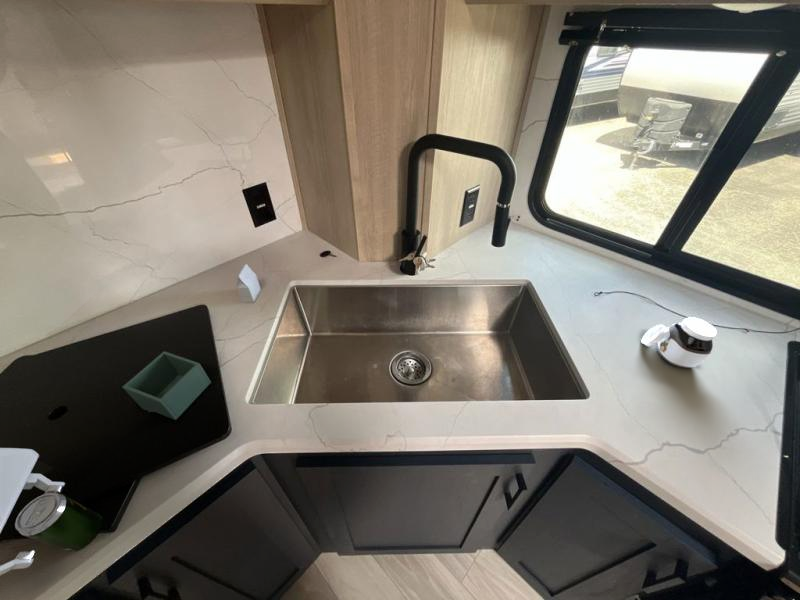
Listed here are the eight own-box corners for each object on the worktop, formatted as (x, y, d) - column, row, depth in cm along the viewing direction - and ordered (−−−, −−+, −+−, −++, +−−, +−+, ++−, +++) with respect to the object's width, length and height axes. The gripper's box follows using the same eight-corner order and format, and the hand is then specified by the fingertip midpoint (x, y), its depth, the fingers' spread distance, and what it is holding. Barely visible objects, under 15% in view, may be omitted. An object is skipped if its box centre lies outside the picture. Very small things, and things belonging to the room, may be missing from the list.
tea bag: (260, 289, 105) (252, 263, 98) (254, 302, 100) (244, 276, 93) (249, 288, 105) (240, 263, 98) (242, 302, 100) (231, 276, 93)
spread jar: (697, 374, 83) (729, 344, 75) (650, 366, 84) (676, 336, 77) (677, 340, 92) (703, 310, 84) (634, 333, 93) (656, 303, 86)
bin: (178, 423, 69) (160, 401, 64) (142, 409, 72) (121, 387, 66) (213, 385, 77) (199, 363, 71) (179, 373, 79) (164, 351, 74)
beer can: (94, 553, 52) (42, 533, 45) (59, 554, 52) (1, 534, 44) (115, 515, 56) (71, 490, 49) (83, 516, 56) (33, 491, 48)
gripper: (-179, 630, 32) (19, 602, 41) (-41, 437, 46) (82, 447, 55) (-189, 653, 34) (3, 621, 42) (-54, 460, 48) (68, 466, 57)
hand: (48, 521), depth 49 cm, fingers open, 8 cm apart
